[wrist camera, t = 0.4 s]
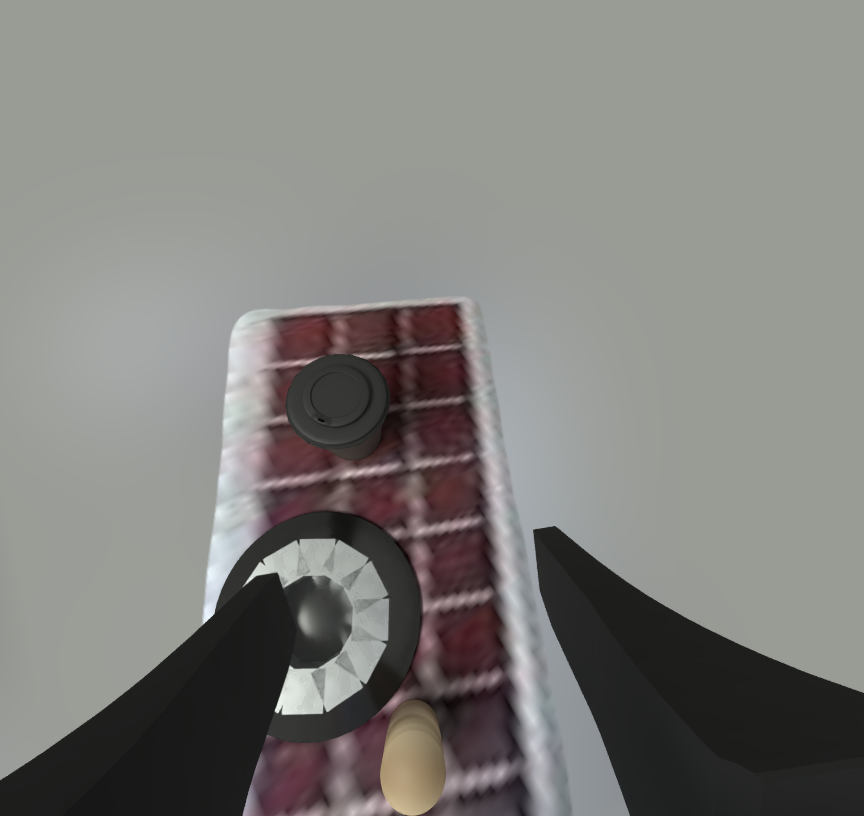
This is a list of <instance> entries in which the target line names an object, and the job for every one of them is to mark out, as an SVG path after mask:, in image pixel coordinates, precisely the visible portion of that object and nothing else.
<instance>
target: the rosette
mask: <svg viewBox="0 0 864 816" xmlns="http://www.w3.org/2000/svg"><path fill="white" fill-rule="evenodd" d="M276 572H278V575H279V578H280V581H281V584H282V587H283V590H284V593H285V596H286V599H287V602H288V605H289V608H290V611H291V614H292V617H293V620H294V623H295V626H296V629H297V633H296V638H295V643H294V648H293V653H292V657H291V662H290V666H289V670H288V673H287V677H286V680H285V683H284V686H283V689H282V692H281V695H280V698H279V701H278V704H277V707H276V709H275V712H274V715H273V718H272V721H271V724H270V727H269V730H268V733H267V735H270V736H272V737H275V738H277V739H281V740H285V741H290V742H300V743H311V742H321V741H325V740H329V739H333V738H337V737H339V736H342V735H344V734H346V733H349V732H351V731H353V730H354V729H356V728H358V727H359V726H361V725H363V724H364V723H366V722H367V721H368V720H369V719H371V718H372V717H373V716H374V715H376V714H377V713H378V712H379V711H380V710H381V709H382V708H383V707H384V706H385V705H386V704H387V702H388V701H389V700H390V699H391V697H392V696H393V695H394V693H395V692H396V691H397V689H398V688H399V686H400V684H401V683H402V681H403V679H404V677H405V676H406V674H407V671H408V669H409V667H410V664H411V662H412V659H413V656H414V653H415V649H416V646H417V641H418V635H419V629H420V601H419V595H418V589H417V585H416V582H415V578H414V575H413V572H412V570H411V568H410V566H409V564H408V561H407V560H406V558H405V556H404V555H403V553H402V552H401V550H400V549H399V548H398V546H397V545H396V544H395V543H394V541H393V540H392V539H391V538H390V537H389V536H387V535H386V534H385V533H384V532H383V531H382V530H380V529H379V528H377V527H376V526H375V525H373V524H371V523H369V522H367V521H365V520H363V519H361V518H358V517H355V516H352V515H349V514H344V513H338V512H317V513H310V514H305V515H301V516H298V517H295V518H292V519H289V520H287V521H285V522H283V523H281V524H279V525H277V526H275V527H274V528H272V529H271V530H269V531H267V532H266V533H265V534H263V535H262V536H261V537H260V538H259V539H257V540H256V541H255V542H254V543H253V544H252V545H251V546H250V547H249V548H248V549H247V550H246V551H245V552H244V554H243V555H242V556H241V557H240V559H239V560H238V561H237V562H236V564H235V566H234V567H233V569H232V570H231V572H230V574H229V575H228V577H227V579H226V581H225V584H224V586H223V588H222V590H221V593H220V596H219V599H218V602H217V605H216V609H215V613H216V612H217V611H218V610H219V609H220V608H222V607H223V606H224V605H225V604H226V603H227V602H228V601H229V600H230V599H231V598H232V597H233V596H234V595H235V594H236V593H237V592H238V591H240V590H241V589H242V588H243V587H244V586H245V585H246V584H247V583H248V582H249V581H251V580H252V579H253V578H254V577H255V576H258V575H264V574H270V573H276Z"/></svg>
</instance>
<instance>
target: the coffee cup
mask: <svg viewBox="0 0 864 816" xmlns="http://www.w3.org/2000/svg"><path fill="white" fill-rule="evenodd" d="M389 404H390V392H389V388H388V385H387V381H386V379H385V378H384V376H383V375H382V374H381V372H380V371H379V369H378V368H377V367H375V366H374V365H373V364H371V363H370V362H368V361H367V360H366V359H363V358H360V357H357V356H354V355H345V354H334V355H328V356H325V357H322V358H319V359H317V360H315V361H313V362H311V363H310V364H308V365H306V366H305V367H304V368H303V369H302V370H301V371H300V372H299V373H298V374H297V375H296V376H295V378H294V380H293V382H292V384H291V385H290V387H289V389H288V392H287V399H286V405H285V406H286V412H287V417H288V421H289V423H290V424H291V426H292V428H293V429H294V431H295V433H296V434H297V435H298V436H300V437H301V438H302V439H303V440H305V441H306V442H307V443H308V444H311V445H314V446H317V447H320V448H323V449H328V450H329V451H331V452H332V453H334V454H335V455H337V456H338V457H340V458H343V459H346V460H359V459H363V458H365V457H367V456H368V455H370V454H372V453H373V452H374V450H375V449H376V448H377V447H378V445H379V442H380V440H381V432H382V424H383V423H384V420H385V418H386V415H387V413H388V411H389Z"/></svg>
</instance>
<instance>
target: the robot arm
mask: <svg viewBox="0 0 864 816" xmlns="http://www.w3.org/2000/svg"><path fill="white" fill-rule="evenodd" d="M533 533H534V542H535V551H536V560H537V569H538V578H539V587H540V592H541V596H542V599H543V602H544V605H545V608H546V611H547V613H548V616H549V620H550V623H551V625H552V628H553V630H554V632H555V635H556V637H557V639H558V641H559V643H560V645H561V648H562V650H563V652H564V654H565V656H566V658H567V661H568V662H569V665H570V667H571V669H572V671H573V674H574V676H575V678H576V680H577V682H578V684H579V687H580V689H581V691H582V693H583V695H584V697H585V699H586V701H587V704H588V706H589V708H590V710H591V713H592V715H593V717H594V720H595V722H596V724H597V727H598V729H599V732H600V734H601V737H602V739H603V742H604V745H605V747H606V750H607V753H608V755H609V758H610V761H611V764H612V767H613V769H614V772H615V775H616V778H617V780H618V783H619V786H620V789H621V791H622V794H623V797H624V800H625V803H626V805H627V808H628V811H629V814H630V816H864V693H862V692H859V691H857V690H853V689H851V688H848V687H845V686H842V685H840V684H837V683H834V682H831V681H828V680H825V679H823V678H819V677H817V676H814V675H811V674H809V673H806V672H804V671H801V670H798V669H796V668H794V667H791V666H789V665H786V664H784V663H781V662H779V661H777V660H774V659H772V658H769V657H767V656H764V655H762V654H760V653H757V652H755V651H753V650H751V649H748V648H746V647H744V646H742V645H739V644H737V643H735V642H733V641H731V640H729V639H727V638H725V637H723V636H721V635H719V634H717V633H715V632H712V631H710V630H708V629H706V628H704V627H702V626H700V625H698V624H697V623H695V622H693V621H691V620H689V619H687V618H685V617H683V616H682V615H680V614H678V613H676V612H675V611H673V610H671V609H669V608H668V607H666V606H664V605H662V604H661V603H659V602H657V601H656V600H654V599H652V598H651V597H649V596H647V595H646V594H644V593H643V592H641V591H640V590H638V589H637V588H635V587H634V586H632V585H631V584H629V583H628V582H626V581H625V580H623V579H622V578H621V577H619V576H618V575H616V574H615V573H614V572H612V571H611V570H610V569H608V568H607V567H606V566H604V565H603V564H602V563H600V562H599V561H598V560H596V559H595V558H594V557H593V556H591V555H590V554H589V553H587V552H586V551H585V550H584V549H582V548H581V547H580V546H579V545H578V544H576V543H575V542H574V541H573V540H572V539H570V538H569V537H568V536H567V535H566V534H564V533H563V532H562V531H561V530H560V529H558V528H557V527H555V526H553V527H547V528H541V529H535V530H533ZM296 633H297V629H296V626H295V623H294V620H293V617H292V614H291V611H290V608H289V605H288V602H287V599H286V596H285V593H284V590H283V587H282V584H281V581H280V578H279V575H278V572H276V573H270V574H264V575H258V576H255V577H254V578H253V579H252V580H251V581H249V582H248V583H247V584H246V585H245V586H244V587H243V588H242V589H241V590H240V591H238V592H237V593H236V594H235V595H234V596H233V597H232V598H231V599H230V600H229V601H228V602H227V603H226V604H225V605H224V606H223V607H222V608H220V609H219V610H218V611H217V612H216V613H215V614H214V615H213V616H212V617H211V618H210V619H209V620H208V621H207V622H206V623H205V624H203V625H202V626H201V627H200V628H199V629H198V630H197V631H196V632H195V633H194V634H193V635H192V636H191V637H190V638H188V639H187V640H186V641H185V642H184V643H183V644H182V645H180V646H179V647H178V648H177V649H176V650H175V651H174V652H173V653H171V654H170V655H169V656H168V657H167V658H166V659H165V660H163V661H162V662H161V663H160V664H159V665H158V666H157V667H156V668H154V669H153V670H152V671H151V672H150V673H149V674H147V675H146V676H145V677H144V678H143V679H141V680H140V681H139V682H138V683H136V684H135V685H134V686H133V687H131V688H130V689H129V690H128V691H126V692H125V693H124V694H123V695H121V696H120V697H119V698H117V699H116V700H115V701H114V702H112V703H111V704H110V705H108V706H107V707H106V708H105V709H103V710H102V711H101V712H99V713H98V714H96V715H95V716H94V717H92V718H91V719H90V720H88V721H87V722H85V723H84V724H83V725H81V726H80V727H79V728H77V729H76V730H74V731H73V732H71V733H70V734H68V735H67V736H66V737H64V738H63V739H61V740H60V741H59V742H57V743H56V744H54V745H53V746H51V747H50V748H49V749H47V750H46V751H44V752H43V753H41V754H40V755H38V756H37V757H36V758H34V759H32V760H31V761H29V762H28V763H26V764H25V765H23V766H22V767H20V768H19V769H17V770H16V771H14V772H13V773H11V774H9V775H8V776H6V777H5V778H3V779H2V780H0V816H242V815H243V811H244V807H245V803H246V799H247V795H248V791H249V788H250V785H251V781H252V778H253V775H254V771H255V768H256V765H257V762H258V759H259V756H260V753H261V750H262V747H263V744H264V742H265V739H266V736H267V733H268V730H269V727H270V724H271V721H272V718H273V715H274V712H275V709H276V707H277V704H278V701H279V698H280V695H281V692H282V689H283V686H284V683H285V680H286V677H287V673H288V670H289V666H290V662H291V657H292V653H293V648H294V643H295V638H296Z"/></svg>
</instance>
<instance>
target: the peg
mask: <svg viewBox="0 0 864 816" xmlns="http://www.w3.org/2000/svg"><path fill="white" fill-rule="evenodd" d="M445 778H446V768H445V761H444V754H443V747H442V740H441V734H440V727H439V721H438V718H437V716H436V713H435V712H434V710H433V709H432V708H431V707H430V706H429V705H428V704H427V703H425V702H423V701H421V700H408V701H405V702H403V703H402V704H400V705H399V706H398V707H397V708H396V709H395V711H394V712H393V714H392V716H391V718H390V721H389V725H388V730H387V736H386V742H385V748H384V753H383V759H382V765H381V773H380V779H381V786H382V790H383V793H384V795H385V797H386V799H387V801H388V802H389V804H390V805H391V806H392V807H393V808H394V809H395V810H396V811H398V812H400V813H402V814H405V815H411V816H414V815H419V814H422V813H424V812H426V811H428V810H429V809H430V808H432V807H433V806H434V805H435V803H436V802H437V801H438V799H439V798H440V796H441V794H442V791H443V788H444V784H445Z"/></svg>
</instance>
